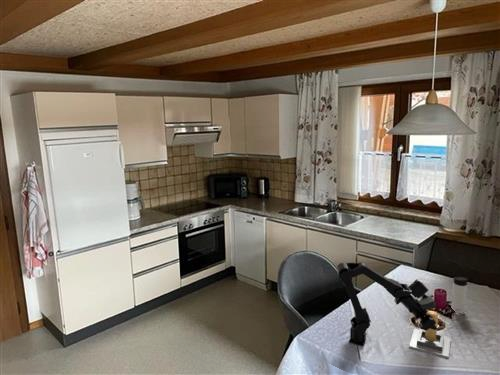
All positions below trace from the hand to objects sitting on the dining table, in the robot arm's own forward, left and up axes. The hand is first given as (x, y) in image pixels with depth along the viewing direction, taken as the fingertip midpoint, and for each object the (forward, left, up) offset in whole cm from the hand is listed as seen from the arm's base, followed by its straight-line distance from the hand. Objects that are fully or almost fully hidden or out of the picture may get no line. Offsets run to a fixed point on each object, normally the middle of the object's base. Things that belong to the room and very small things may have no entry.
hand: (434, 326), depth 170 cm
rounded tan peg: (-1, -1, -7) cm, 7 cm away
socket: (-1, -1, -9) cm, 9 cm away
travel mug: (+9, +35, -9) cm, 38 cm away
